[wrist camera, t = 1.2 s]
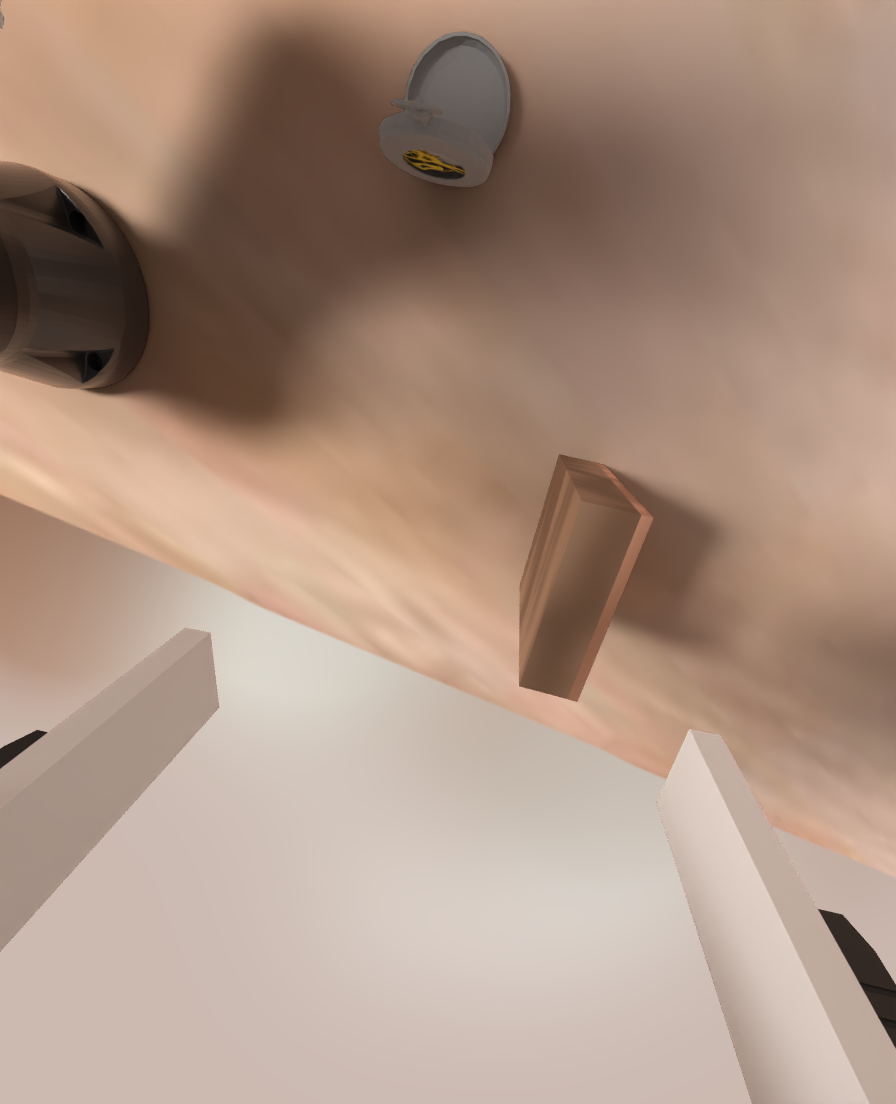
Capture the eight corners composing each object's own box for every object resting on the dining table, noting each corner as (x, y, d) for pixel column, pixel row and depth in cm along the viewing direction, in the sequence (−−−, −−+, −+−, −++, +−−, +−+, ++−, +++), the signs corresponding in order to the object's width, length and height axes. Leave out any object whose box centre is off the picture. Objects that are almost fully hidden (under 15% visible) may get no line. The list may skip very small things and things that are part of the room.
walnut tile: (519, 584, 39) (519, 686, 26) (559, 454, 34) (581, 501, 22) (558, 594, 39) (577, 701, 26) (604, 464, 34) (653, 517, 21)
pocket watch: (489, 17, 26) (472, -182, 17) (533, 178, 28) (539, 82, 19) (370, 97, 28) (296, -39, 19) (421, 239, 30) (377, 180, 21)
